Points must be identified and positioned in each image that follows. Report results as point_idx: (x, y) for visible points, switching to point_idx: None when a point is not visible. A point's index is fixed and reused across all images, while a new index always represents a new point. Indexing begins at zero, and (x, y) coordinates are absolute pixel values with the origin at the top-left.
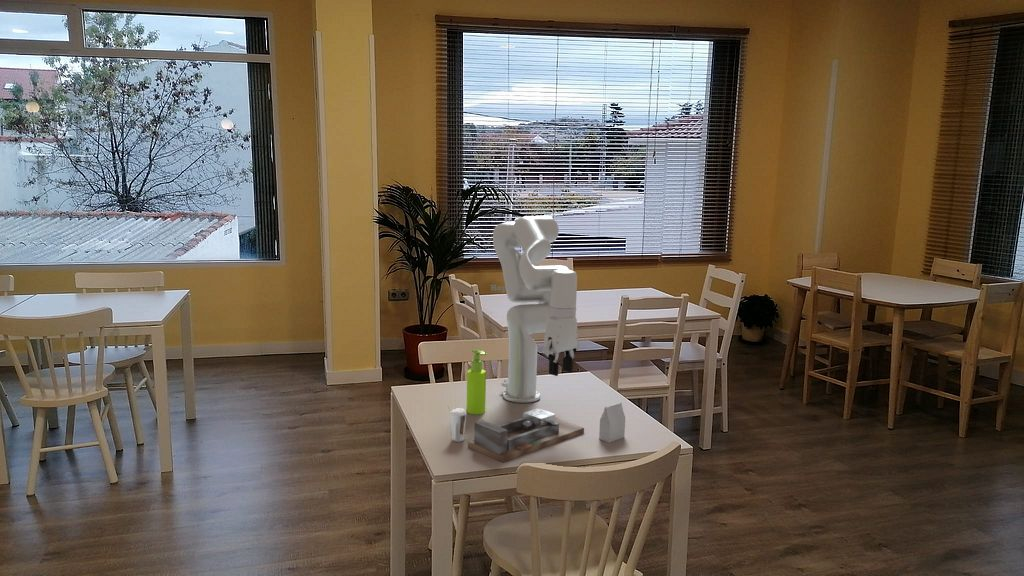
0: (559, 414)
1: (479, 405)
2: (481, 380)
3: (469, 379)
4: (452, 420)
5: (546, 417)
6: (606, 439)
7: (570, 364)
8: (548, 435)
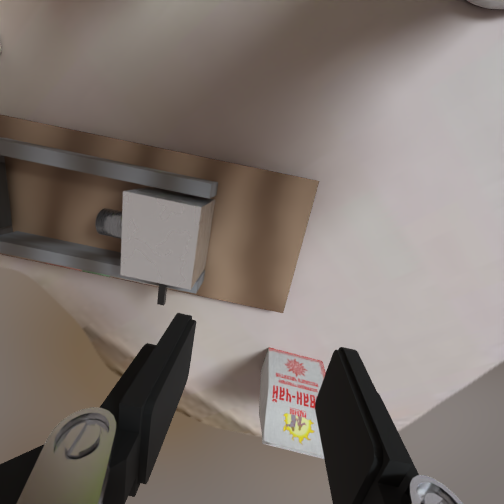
0: (384, 179)
1: None
2: None
3: None
4: None
5: (147, 280)
6: (262, 369)
7: (327, 467)
8: None
